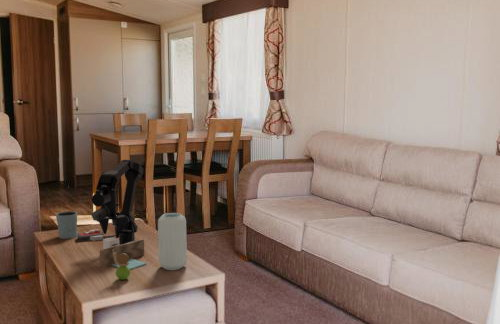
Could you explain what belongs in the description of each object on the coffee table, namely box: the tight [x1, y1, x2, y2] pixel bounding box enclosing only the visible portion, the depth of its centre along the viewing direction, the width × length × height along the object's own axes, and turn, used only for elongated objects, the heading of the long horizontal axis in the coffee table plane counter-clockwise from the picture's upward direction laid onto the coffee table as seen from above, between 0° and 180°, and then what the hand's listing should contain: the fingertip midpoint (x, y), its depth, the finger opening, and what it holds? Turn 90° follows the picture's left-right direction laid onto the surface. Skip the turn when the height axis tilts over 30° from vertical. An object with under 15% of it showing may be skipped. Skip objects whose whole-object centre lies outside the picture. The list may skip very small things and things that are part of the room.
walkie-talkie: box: [76, 228, 116, 242], centre depth 252 cm, size 9×4×20 cm
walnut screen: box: [99, 238, 145, 268], centre depth 218 cm, size 22×2×7 cm, turn 141°
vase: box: [157, 212, 188, 271], centre depth 209 cm, size 12×12×22 cm
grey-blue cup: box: [55, 210, 78, 240], centre depth 254 cm, size 10×10×12 cm
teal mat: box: [111, 258, 147, 271], centre depth 213 cm, size 10×10×1 cm
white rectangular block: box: [102, 237, 119, 250], centre depth 227 cm, size 5×5×7 cm
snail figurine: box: [112, 249, 131, 281], centre depth 196 cm, size 5×6×12 cm
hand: (111, 235), depth 226 cm, fingers open, 9 cm apart
